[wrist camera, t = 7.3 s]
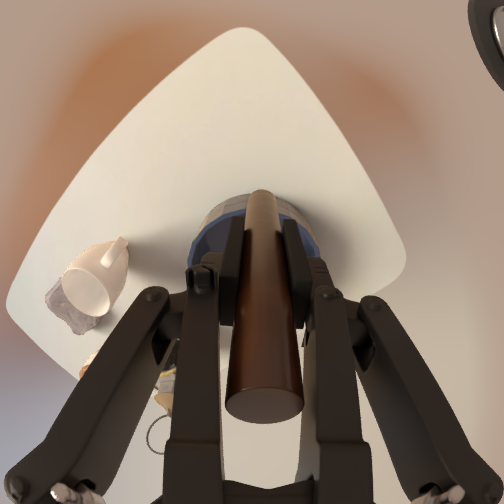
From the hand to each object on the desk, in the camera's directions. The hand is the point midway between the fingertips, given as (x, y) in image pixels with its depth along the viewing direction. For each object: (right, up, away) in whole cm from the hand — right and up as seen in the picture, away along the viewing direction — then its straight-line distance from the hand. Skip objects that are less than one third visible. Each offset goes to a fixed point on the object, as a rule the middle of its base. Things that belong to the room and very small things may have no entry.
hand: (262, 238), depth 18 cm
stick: (0, +3, +6) cm, 6 cm away
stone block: (-36, -11, +31) cm, 48 cm away
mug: (-21, 0, +24) cm, 32 cm away
